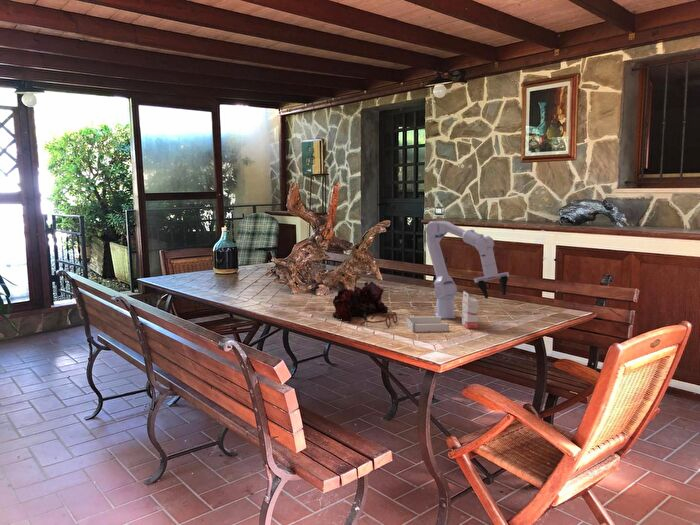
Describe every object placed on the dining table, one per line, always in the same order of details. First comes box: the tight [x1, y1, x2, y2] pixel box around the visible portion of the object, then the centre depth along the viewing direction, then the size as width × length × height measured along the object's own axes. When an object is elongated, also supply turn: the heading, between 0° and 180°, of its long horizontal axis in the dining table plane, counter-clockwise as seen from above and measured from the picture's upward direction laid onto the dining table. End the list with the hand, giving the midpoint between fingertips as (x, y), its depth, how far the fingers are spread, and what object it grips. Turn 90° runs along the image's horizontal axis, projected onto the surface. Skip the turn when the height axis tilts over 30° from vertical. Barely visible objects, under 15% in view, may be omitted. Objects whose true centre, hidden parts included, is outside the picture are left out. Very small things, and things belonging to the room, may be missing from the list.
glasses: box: [359, 311, 398, 328], centre depth 238 cm, size 13×13×5 cm
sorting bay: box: [406, 315, 450, 333], centre depth 230 cm, size 14×15×3 cm
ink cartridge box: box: [461, 290, 480, 329], centre depth 231 cm, size 9×5×15 cm, turn 4°
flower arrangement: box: [332, 281, 388, 322], centre depth 255 cm, size 31×20×15 cm, turn 141°
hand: (495, 296), depth 229 cm, fingers open, 7 cm apart
